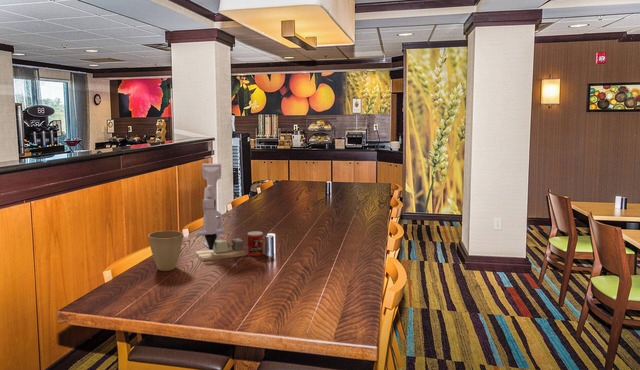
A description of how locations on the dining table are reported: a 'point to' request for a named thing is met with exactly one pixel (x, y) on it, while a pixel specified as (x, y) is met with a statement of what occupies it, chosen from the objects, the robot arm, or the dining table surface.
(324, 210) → the dining table surface
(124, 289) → the dining table surface
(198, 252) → the stud board
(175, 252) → the plant pot
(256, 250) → the canned food
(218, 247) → the pale green cube
